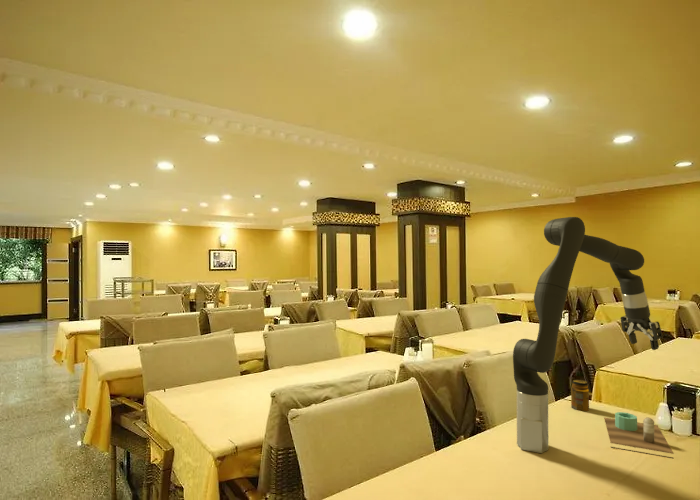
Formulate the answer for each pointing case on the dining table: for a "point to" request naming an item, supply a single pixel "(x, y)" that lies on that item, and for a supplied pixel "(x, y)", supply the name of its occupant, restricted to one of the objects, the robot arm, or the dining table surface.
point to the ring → (626, 421)
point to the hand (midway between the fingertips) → (644, 346)
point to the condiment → (580, 395)
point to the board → (639, 437)
